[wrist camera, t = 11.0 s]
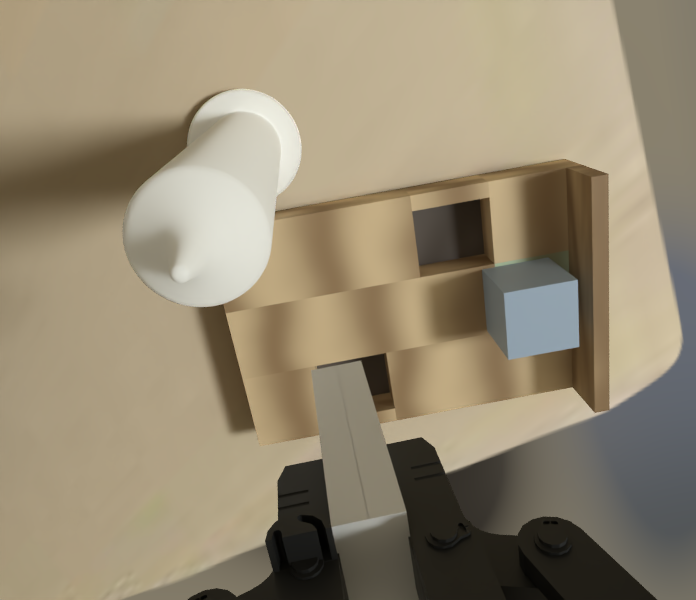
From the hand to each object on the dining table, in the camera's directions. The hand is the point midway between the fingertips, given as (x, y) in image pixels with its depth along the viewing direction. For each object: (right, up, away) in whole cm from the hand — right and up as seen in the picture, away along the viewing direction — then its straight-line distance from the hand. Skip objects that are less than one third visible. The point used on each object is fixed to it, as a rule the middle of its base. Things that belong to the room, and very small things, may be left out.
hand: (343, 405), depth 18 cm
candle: (-6, +13, +21) cm, 25 cm away
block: (+12, +4, +23) cm, 26 cm away
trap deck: (+4, +3, +25) cm, 26 cm away
